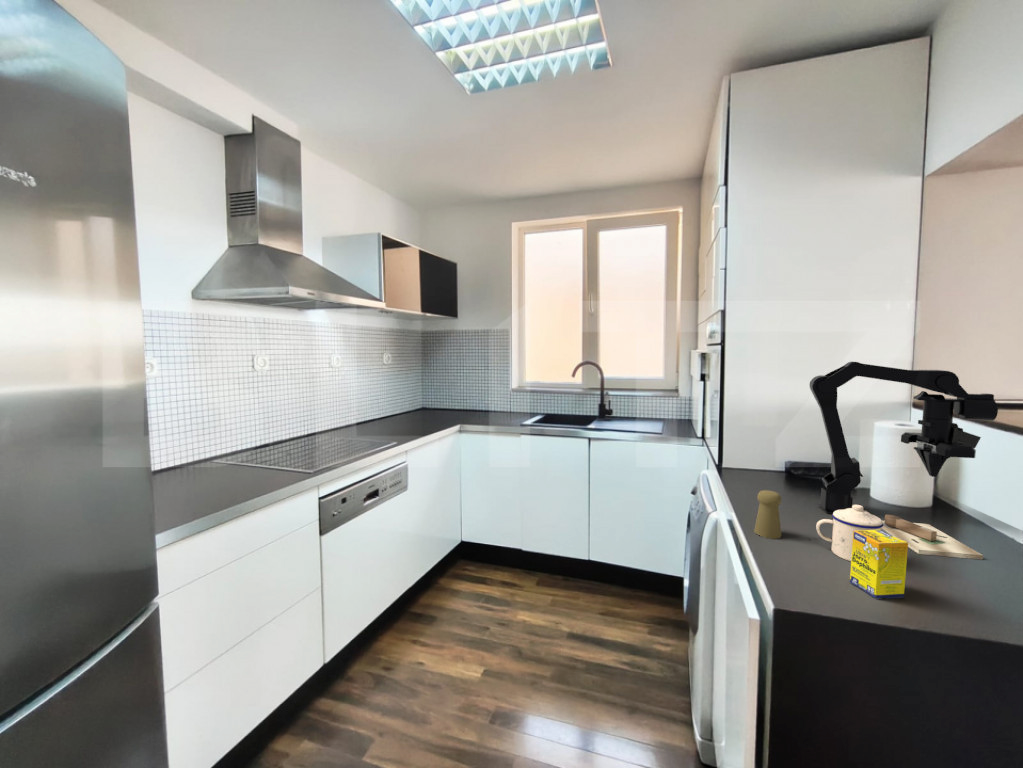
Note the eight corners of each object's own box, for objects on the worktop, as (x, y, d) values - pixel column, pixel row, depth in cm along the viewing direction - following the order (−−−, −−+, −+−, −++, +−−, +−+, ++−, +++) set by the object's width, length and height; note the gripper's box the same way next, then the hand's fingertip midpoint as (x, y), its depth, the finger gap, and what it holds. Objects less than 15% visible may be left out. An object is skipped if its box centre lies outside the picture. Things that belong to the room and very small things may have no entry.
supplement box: (848, 583, 89) (851, 530, 88) (876, 581, 89) (879, 529, 88) (875, 599, 83) (879, 543, 82) (905, 598, 83) (909, 541, 82)
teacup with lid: (877, 552, 102) (880, 503, 101) (884, 569, 94) (888, 516, 93) (814, 540, 108) (816, 494, 107) (816, 555, 100) (818, 505, 99)
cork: (785, 540, 109) (787, 496, 108) (758, 538, 110) (760, 494, 109) (776, 530, 114) (778, 488, 114) (750, 528, 116) (752, 487, 115)
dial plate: (918, 553, 101) (918, 549, 101) (874, 523, 119) (874, 519, 119) (982, 559, 98) (983, 554, 98) (927, 527, 116) (928, 523, 116)
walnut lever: (881, 523, 116) (881, 514, 115) (891, 522, 116) (892, 514, 116) (927, 541, 105) (928, 532, 104) (938, 540, 105) (939, 531, 105)
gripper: (1005, 425, 105) (999, 489, 106) (948, 413, 123) (944, 469, 124) (948, 423, 108) (944, 486, 109) (901, 412, 126) (897, 466, 127)
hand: (933, 476), depth 117 cm, fingers closed
